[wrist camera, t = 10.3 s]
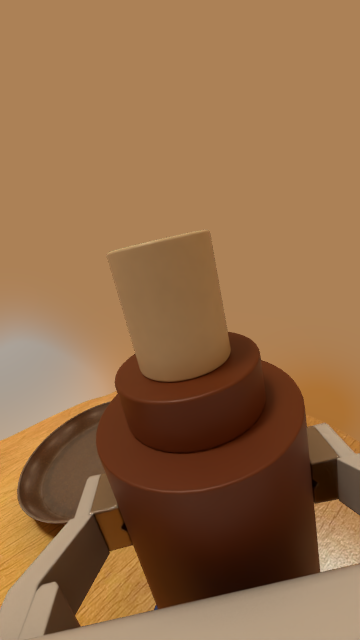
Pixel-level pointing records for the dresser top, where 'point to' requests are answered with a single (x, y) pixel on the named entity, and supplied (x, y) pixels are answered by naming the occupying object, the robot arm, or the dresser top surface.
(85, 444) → the plant saucer
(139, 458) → the bottle
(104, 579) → the dresser top surface
